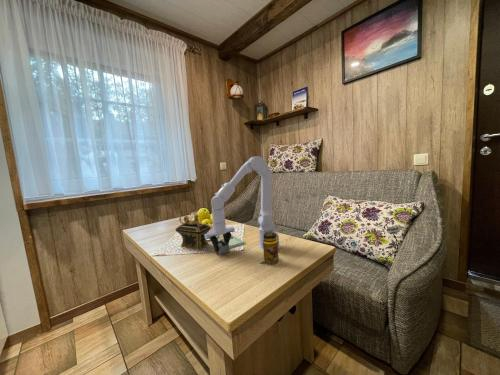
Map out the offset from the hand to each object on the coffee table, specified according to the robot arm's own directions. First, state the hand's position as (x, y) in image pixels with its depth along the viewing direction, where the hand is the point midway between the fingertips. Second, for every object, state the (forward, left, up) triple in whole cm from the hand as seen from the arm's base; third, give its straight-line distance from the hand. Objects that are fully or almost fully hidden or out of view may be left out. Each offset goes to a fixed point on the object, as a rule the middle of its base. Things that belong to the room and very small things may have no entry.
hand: (221, 249), depth 101 cm
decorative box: (+19, +8, -2) cm, 20 cm away
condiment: (-21, -12, -2) cm, 25 cm away
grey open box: (0, 0, -1) cm, 1 cm away
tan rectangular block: (-1, 0, -2) cm, 2 cm away
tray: (+7, -9, -2) cm, 11 cm away
